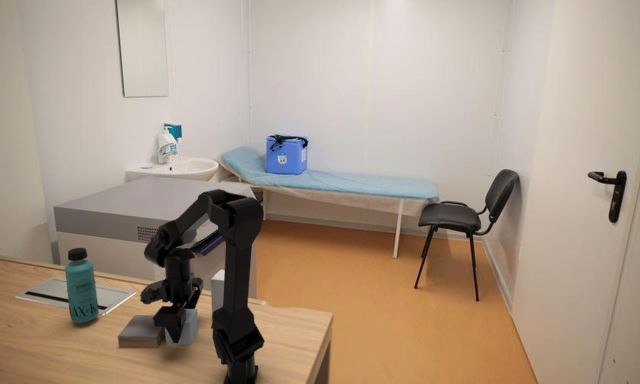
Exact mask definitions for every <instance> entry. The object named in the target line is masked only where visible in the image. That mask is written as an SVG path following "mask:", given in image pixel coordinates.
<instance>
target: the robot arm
mask: <svg viewBox="0 0 640 384" xmlns="http://www.w3.org/2000/svg"><path fill="white" fill-rule="evenodd" d="M264 215H265V212H264V207H263V205H262V204H261V203H260V201H258V200H257V199H256V198H255V197H252V196H246V195H244V194H239V193H238V194H237V193H233V192H228V191H226V190H225V189H221V188H217V189H212V190H207V191H203V192H201V193H200V194H198V196H197V199H195V201H193V202H192V204H190V206H188V207H187V208H186V209H185V211H183V213H181V214H180V215H179V216H178V217H177V218H175V219H173V220H170V221H168V222H165V223H163V224H161V225H159V227H158V228H157V231H156V234H155V235H154V236H151V237H150V241H149V243H148V244H147V245H146V246H145V248H144V250H143V255H144V258H145V260H147V261H148V262H150V263H152V264H154V265H156V266H158V267H159V268H162V269H164V273H165V278H164V279H161V280H158V281H156V282H151V283H150V284H148V285H146V286H145V287H144V288H143V290H142V291H141V292H140V294H139V296H140V302H141V303H143V305H151V304H152V303H155V302H158V301H161V302H162V303H168V302H170V303H171V304H172V305H162V306H160V308H159V309H158V310H157V311H156V313H155V314H154V317H153V325H154V326H155V327H165V328H166V330H167V331H168V333H169V335H170V337H171V339H172V341H173V343H178V342H179V340H180V337H181V334H182V331H183V328H184V325H185V322H186V318H185V317H186V310H185V309H197V308H196V307H197V305H198V302H199V300H200V298H201V294H202V292H203V288H204V279H202V278H201V277H195V273H194V272H192V267H191V266H192V265H191V260H193V259H195V258H196V256H195V253H193V252H192V251H191V250H190V248H188V247H187V248H183V247H182V246H184V245H188V244H191V243H192V242H193V241H194V240H195V238H196V236H198V232H197V230H198V229H199V228H200V227H201V226H203V225H204V224H205V223H206V222H207V221H208V220H209V222H210V223H212V224H214V225H216V227H217V231H218V233H219V235H220V237H221V238H222V239H223V241H224V242H225V252H224V253H225V255H224V256H225V257H224V270H225V274H224V295H223V306H222V307H221V308H219V309H217V310H215V311H213V314H212V313H211V321H212V322H211V326H210V329H211V330H212V335H211V337H212V341H213V344H214V349H215V353H216V355H217V359H219V360H220V364H221V365H224V366H225V365H227V366H226V367H227V371H226V374H225V378H224V380H223V384H256V382H257V377H258V374H259V365H258V364H256V362H255V361H256V358H255V357H256V356H255V352H257V351H258V350H261V349H262V348H263V347H264V345H265V341H266V340H265V338H264V337H263V334H262V333H261V331H260V329H259V328H258V326H257V324H256V323H255V315H254V313H253V312H252V309H250V307H249V292H250V291H249V290H250V289H249V288H250V278H251V266H252V265H251V264H252V248H253V244H254V242H255V240H256V239H257V237H258V236H259V234H260V233H261V230H262V227H263V226H262V225H263V222H264V218H265V216H264Z"/></svg>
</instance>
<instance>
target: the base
mask: <svg viewBox="0 0 640 384" xmlns="http://www.w3.org/2000/svg"><path fill="white" fill-rule="evenodd" d="M154 315H155V314H154ZM154 315H153V314H134V315H133V316H132V318H131V319H130V320H129V321H128V323H127V324H126V325H125V326H124V327H123V329H122V330H121V331H120V333H119V334H118V335H117V341H118V348H132V349H133V348H141V349H143V348H144V349H158V348H159V346H160V344H161V343H162V341H163V340H164V338H166V336H165V327H155V326H154V325H153V317H154Z"/></svg>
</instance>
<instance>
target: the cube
mask: <svg viewBox="0 0 640 384" xmlns="http://www.w3.org/2000/svg"><path fill="white" fill-rule="evenodd" d="M185 310H186V317H185V318H186V322H185V325H184V328H183V331H182V334H181V337H180V340H179V342H178V343H173V341H172V339H171V337H170V335H169V333H168V331H167V330H166V328H165V345H183V346H185V345H190V346H191V345H192V344H193V342H194V340H195V338H196V335H197V334H198V332H199V329H200V328H199V317H198V316H199V313H198V309H197V308H195V309H185Z"/></svg>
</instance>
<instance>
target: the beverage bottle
mask: <svg viewBox="0 0 640 384" xmlns="http://www.w3.org/2000/svg"><path fill="white" fill-rule="evenodd" d="M67 254H68V256H67V260H68V261H70V262H69V263H68V264H67V265H66V266H65V267H64V273H65V274H64V275H65V280H66V281H65V282H66V288H67V289H66V292H67V300H68V303H67V304H68V310H69V316H70V320H71V321H72V322H74V323H77V324H79V323H80V324H82V323H86V322H89V321H92V320H93V319H95V318H96V317H98V315H99V313H100V312H99V308H100V307H99V301H98V293H97V287H96V283H97V281H96V280H95V272H94V271H95V270H94V263H93V262H91V261H90V260H88V259H86V258H88V252H87V249H86V248H84V247H75V248H72V249H70V250H68V251H67Z"/></svg>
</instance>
